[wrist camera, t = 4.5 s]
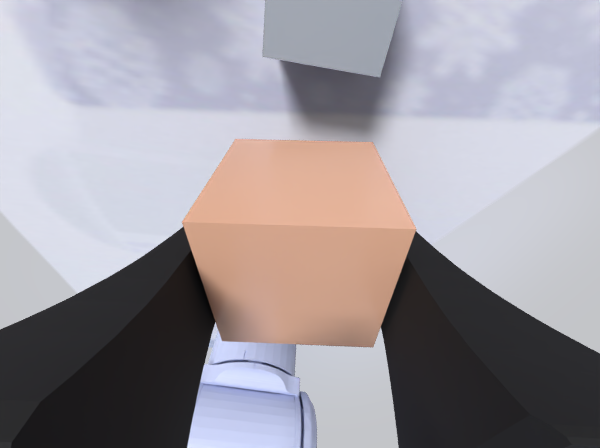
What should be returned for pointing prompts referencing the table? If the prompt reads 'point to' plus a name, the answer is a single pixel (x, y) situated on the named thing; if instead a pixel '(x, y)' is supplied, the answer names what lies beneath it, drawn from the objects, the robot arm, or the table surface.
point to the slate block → (331, 33)
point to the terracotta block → (299, 242)
